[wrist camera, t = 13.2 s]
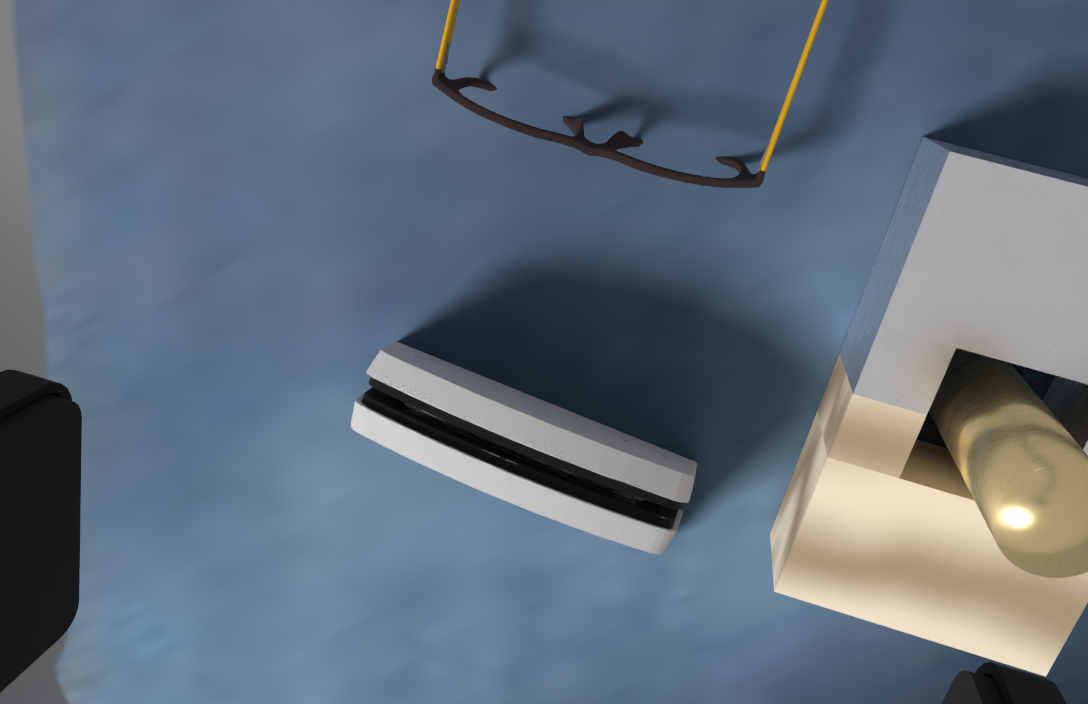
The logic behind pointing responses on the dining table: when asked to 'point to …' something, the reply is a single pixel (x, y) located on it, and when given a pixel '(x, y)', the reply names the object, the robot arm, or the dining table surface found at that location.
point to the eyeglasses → (619, 138)
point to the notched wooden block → (908, 540)
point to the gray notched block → (977, 281)
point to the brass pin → (1016, 464)
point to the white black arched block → (524, 449)
